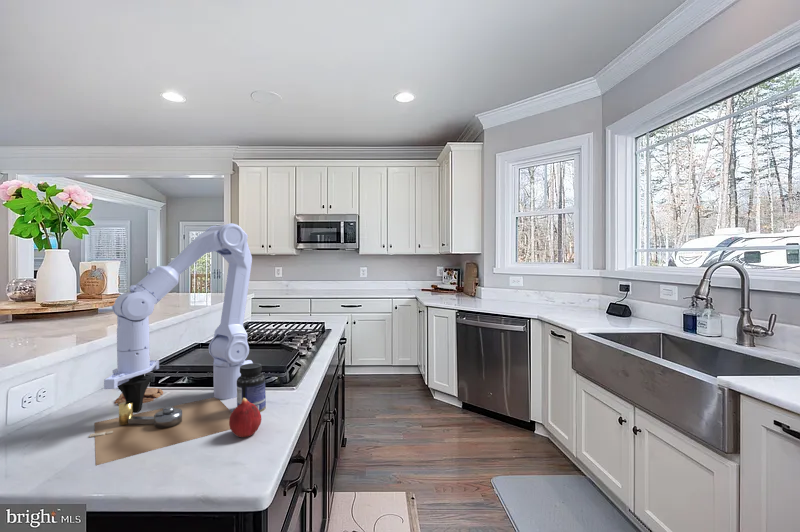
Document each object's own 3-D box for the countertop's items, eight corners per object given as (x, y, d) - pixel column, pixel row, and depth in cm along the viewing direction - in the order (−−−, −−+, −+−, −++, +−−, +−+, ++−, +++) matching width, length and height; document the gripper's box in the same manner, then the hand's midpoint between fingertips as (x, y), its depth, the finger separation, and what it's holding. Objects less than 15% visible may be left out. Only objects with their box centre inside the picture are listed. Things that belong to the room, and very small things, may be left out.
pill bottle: (270, 408, 91) (269, 362, 91) (259, 419, 85) (258, 369, 85) (244, 408, 91) (244, 362, 91) (231, 418, 85) (231, 369, 85)
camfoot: (187, 417, 83) (186, 399, 83) (172, 427, 78) (172, 408, 78) (129, 417, 83) (128, 399, 83) (111, 427, 78) (110, 408, 78)
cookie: (172, 395, 101) (172, 384, 101) (142, 411, 90) (142, 398, 90) (137, 395, 102) (137, 383, 102) (103, 410, 91) (103, 397, 91)
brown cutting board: (216, 400, 96) (216, 395, 96) (244, 430, 79) (244, 424, 79) (88, 428, 81) (88, 422, 81) (89, 473, 64) (88, 465, 64)
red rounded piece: (267, 434, 77) (267, 394, 77) (247, 447, 72) (247, 405, 72) (244, 430, 79) (243, 391, 79) (222, 443, 74) (222, 401, 74)
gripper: (137, 341, 89) (137, 399, 89) (87, 357, 75) (88, 426, 75) (167, 341, 89) (168, 399, 90) (124, 356, 75) (125, 426, 75)
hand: (134, 411), depth 82 cm, fingers closed
